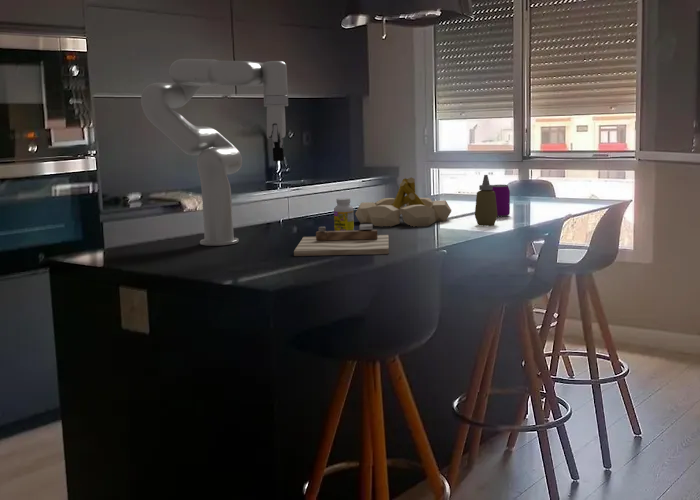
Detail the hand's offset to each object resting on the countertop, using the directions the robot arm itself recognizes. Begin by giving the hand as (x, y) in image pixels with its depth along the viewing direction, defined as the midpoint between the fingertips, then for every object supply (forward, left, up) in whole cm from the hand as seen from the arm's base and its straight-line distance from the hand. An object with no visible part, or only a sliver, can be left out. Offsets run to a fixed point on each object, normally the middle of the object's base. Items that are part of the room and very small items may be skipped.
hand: (278, 160), depth 261 cm
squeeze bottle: (-36, +69, -27) cm, 82 cm away
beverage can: (-60, +77, -27) cm, 101 cm away
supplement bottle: (-17, +19, -27) cm, 37 cm away
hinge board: (+6, +20, -27) cm, 34 cm away
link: (+1, +21, -25) cm, 33 cm away
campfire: (-53, +40, -28) cm, 72 cm away
